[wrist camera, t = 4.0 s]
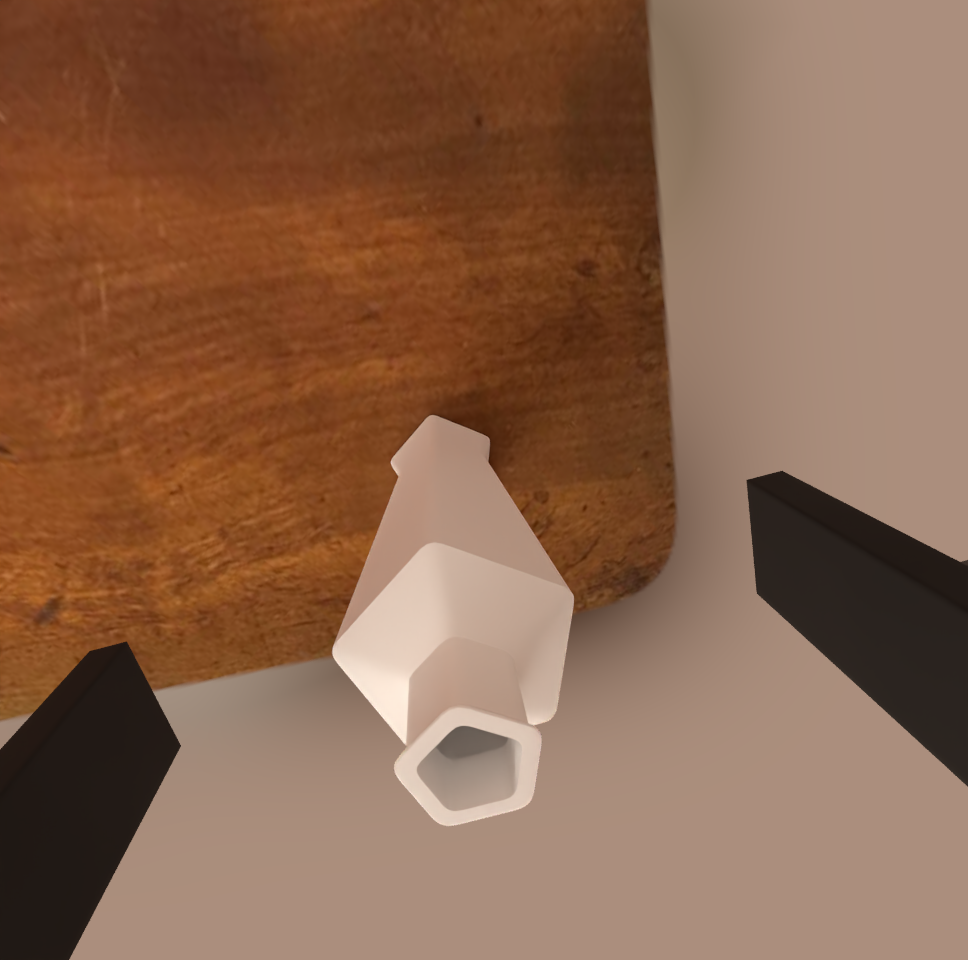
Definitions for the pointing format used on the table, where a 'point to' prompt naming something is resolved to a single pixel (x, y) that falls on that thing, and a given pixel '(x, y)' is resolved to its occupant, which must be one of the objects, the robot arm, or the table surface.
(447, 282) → the table surface
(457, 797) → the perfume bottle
